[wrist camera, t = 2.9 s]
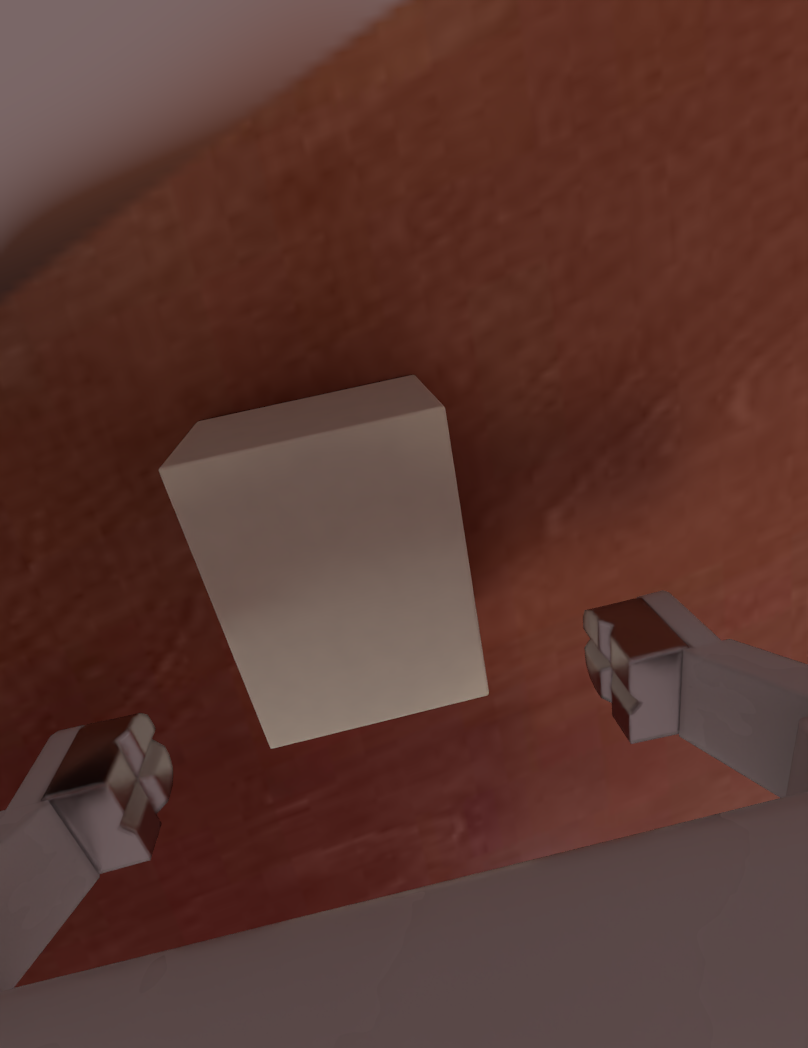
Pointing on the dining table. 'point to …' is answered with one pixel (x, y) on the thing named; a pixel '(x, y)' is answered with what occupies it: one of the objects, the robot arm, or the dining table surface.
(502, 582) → the dining table surface
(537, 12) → the dining table surface
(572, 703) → the dining table surface
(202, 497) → the beige rectangular block
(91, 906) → the dining table surface
